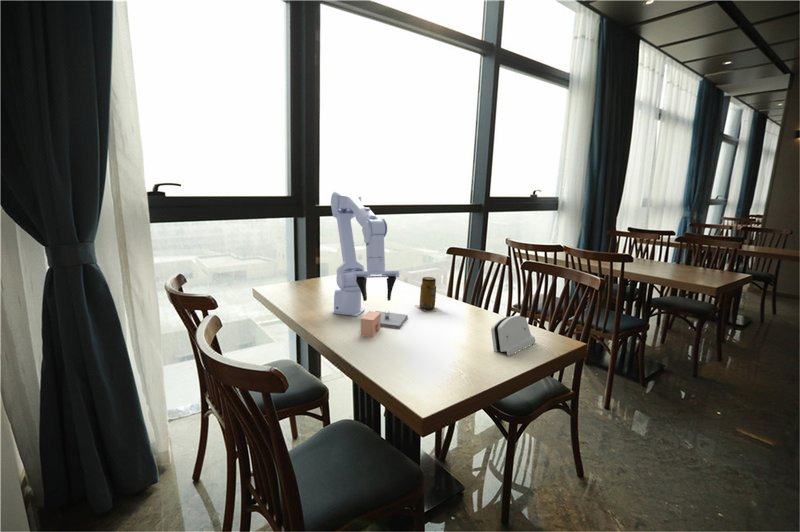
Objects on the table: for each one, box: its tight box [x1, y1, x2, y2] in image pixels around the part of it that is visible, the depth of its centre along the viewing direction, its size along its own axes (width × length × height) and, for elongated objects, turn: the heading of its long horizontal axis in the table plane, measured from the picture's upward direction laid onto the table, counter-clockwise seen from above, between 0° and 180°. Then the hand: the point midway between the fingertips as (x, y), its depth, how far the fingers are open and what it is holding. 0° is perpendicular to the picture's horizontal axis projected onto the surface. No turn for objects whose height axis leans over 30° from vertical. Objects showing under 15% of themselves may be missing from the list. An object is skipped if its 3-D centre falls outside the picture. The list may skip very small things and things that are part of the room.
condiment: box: [415, 276, 441, 313], centre depth 149 cm, size 7×8×12 cm
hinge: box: [490, 315, 536, 356], centre depth 116 cm, size 17×5×10 cm, turn 134°
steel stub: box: [384, 310, 391, 319], centre depth 133 cm, size 2×2×2 cm
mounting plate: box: [374, 310, 408, 330], centre depth 133 cm, size 12×12×1 cm
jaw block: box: [359, 310, 382, 338], centre depth 122 cm, size 4×8×6 cm, turn 166°
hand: (377, 300), depth 121 cm, fingers open, 7 cm apart
